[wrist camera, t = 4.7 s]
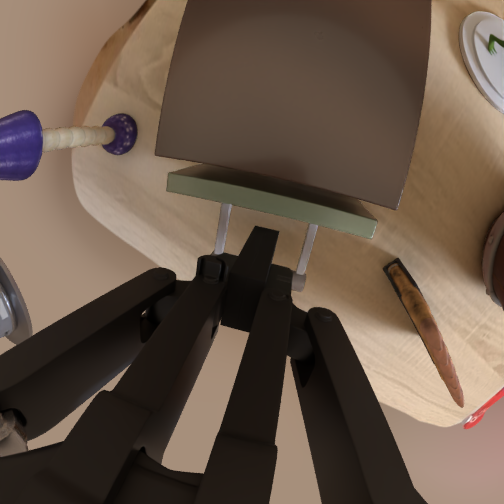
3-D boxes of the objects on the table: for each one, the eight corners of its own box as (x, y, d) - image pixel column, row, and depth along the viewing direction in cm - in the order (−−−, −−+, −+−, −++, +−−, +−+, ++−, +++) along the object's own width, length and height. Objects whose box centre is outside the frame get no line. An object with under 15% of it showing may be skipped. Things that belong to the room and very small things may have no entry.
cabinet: (362, 184, 23) (397, 211, 14) (206, 148, 24) (153, 156, 15) (392, 17, 16) (430, -31, 7) (243, -13, 17) (214, -71, 8)
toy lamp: (135, 103, 23) (-13, 97, 8) (148, 146, 25) (-1, 173, 9) (99, 125, 24) (-40, 141, 9) (111, 164, 26) (-28, 206, 11)
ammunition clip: (434, 327, 27) (473, 405, 16) (421, 336, 27) (455, 416, 16) (397, 257, 25) (448, 333, 14) (382, 267, 25) (424, 349, 14)
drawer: (331, 271, 25) (340, 322, 18) (196, 238, 26) (159, 276, 19) (386, 40, 17) (417, 5, 10) (239, 10, 18) (214, -34, 11)
